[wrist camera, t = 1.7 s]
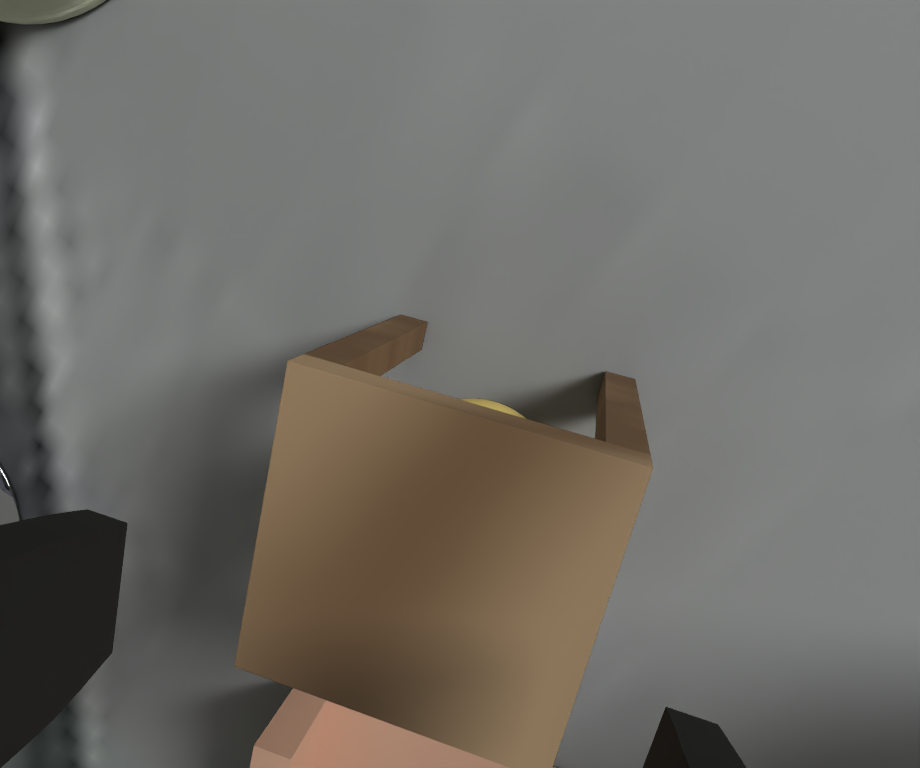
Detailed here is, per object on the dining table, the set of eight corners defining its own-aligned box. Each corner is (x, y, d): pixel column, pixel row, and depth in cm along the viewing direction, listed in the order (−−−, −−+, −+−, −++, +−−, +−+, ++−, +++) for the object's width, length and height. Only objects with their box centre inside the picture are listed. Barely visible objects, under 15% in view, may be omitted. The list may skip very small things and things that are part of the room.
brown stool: (635, 379, 16) (653, 468, 10) (567, 593, 17) (547, 781, 11) (401, 314, 17) (287, 360, 11) (355, 524, 18) (234, 666, 12)
